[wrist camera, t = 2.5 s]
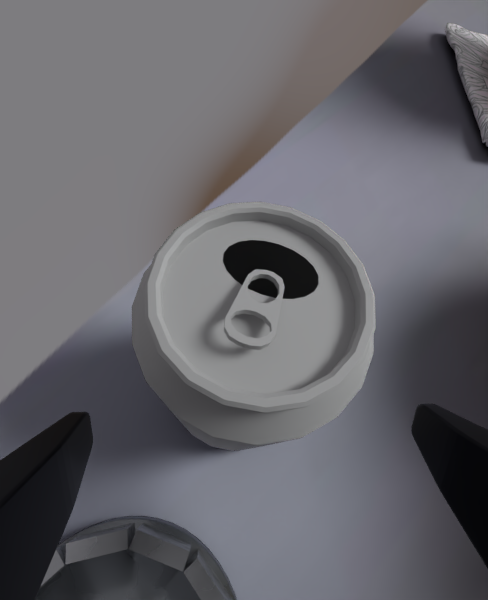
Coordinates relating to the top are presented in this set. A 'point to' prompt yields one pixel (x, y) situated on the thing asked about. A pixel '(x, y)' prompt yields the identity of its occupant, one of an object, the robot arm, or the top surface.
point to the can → (254, 325)
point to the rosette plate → (134, 564)
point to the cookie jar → (472, 70)
